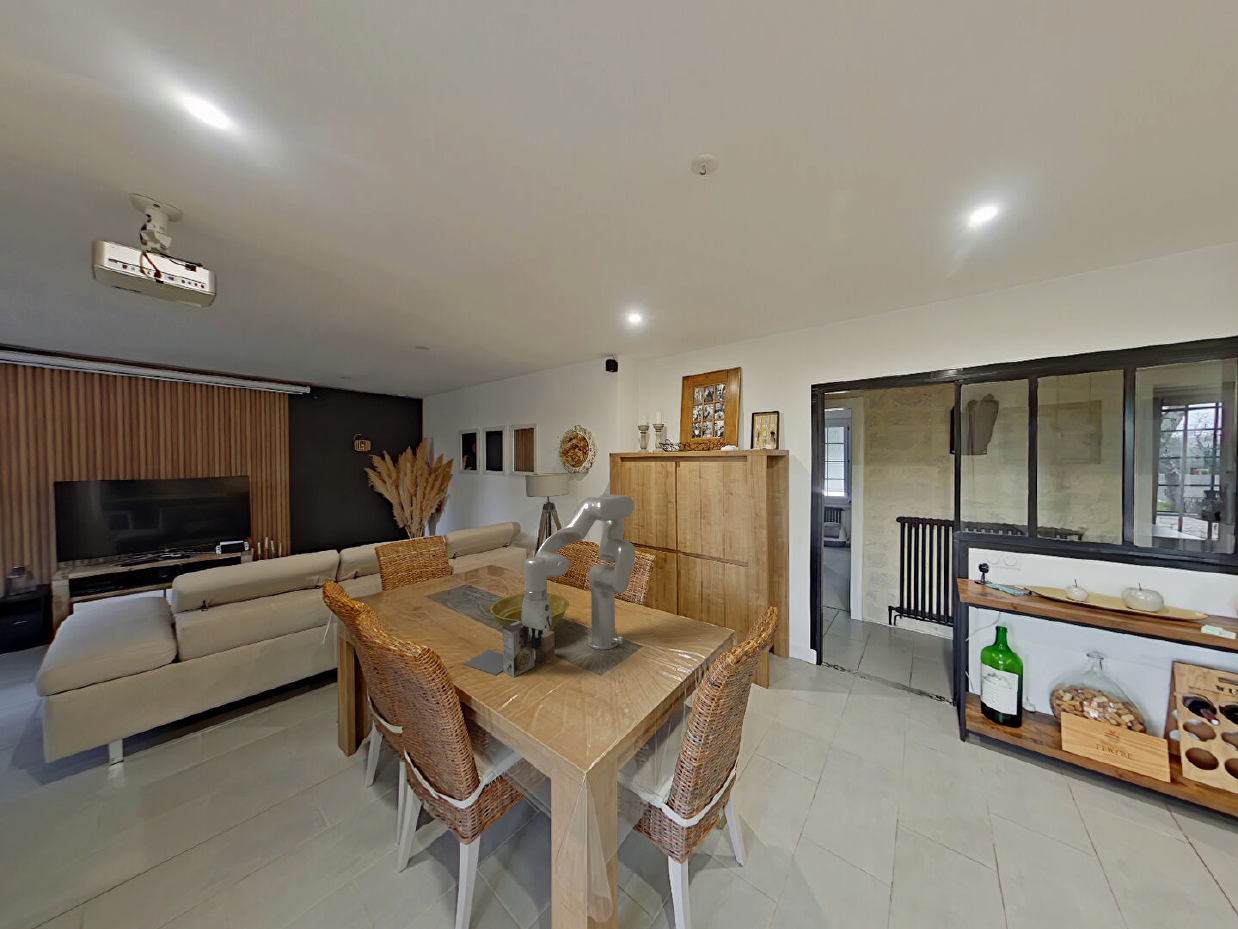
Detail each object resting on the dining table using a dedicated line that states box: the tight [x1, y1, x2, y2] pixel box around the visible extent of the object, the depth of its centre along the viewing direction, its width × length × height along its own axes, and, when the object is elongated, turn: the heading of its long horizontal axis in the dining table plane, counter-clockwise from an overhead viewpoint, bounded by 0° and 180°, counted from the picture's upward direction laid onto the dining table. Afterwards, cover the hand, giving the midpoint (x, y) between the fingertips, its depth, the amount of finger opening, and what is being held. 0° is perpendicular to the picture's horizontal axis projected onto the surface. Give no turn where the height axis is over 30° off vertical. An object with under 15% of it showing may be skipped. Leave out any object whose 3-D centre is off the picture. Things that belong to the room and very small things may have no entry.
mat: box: [463, 649, 504, 676], centre depth 147 cm, size 16×12×1 cm
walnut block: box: [534, 631, 556, 665], centre depth 149 cm, size 5×5×10 cm
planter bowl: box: [490, 592, 570, 632], centre depth 169 cm, size 32×32×13 cm
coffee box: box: [502, 619, 536, 678], centre depth 142 cm, size 9×6×16 cm
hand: (536, 647), depth 139 cm, fingers closed
